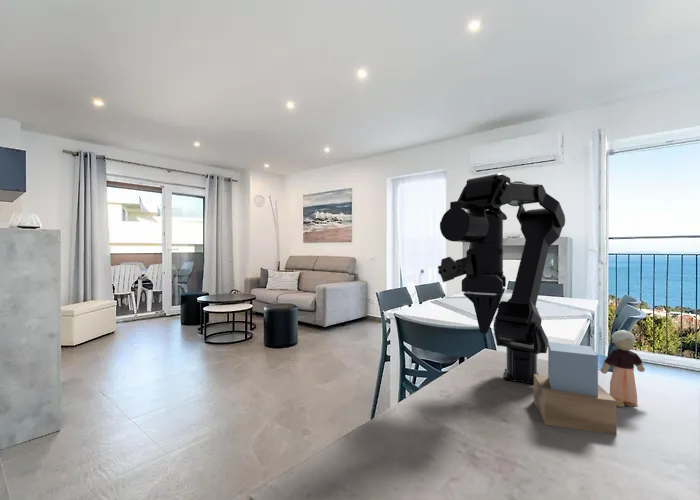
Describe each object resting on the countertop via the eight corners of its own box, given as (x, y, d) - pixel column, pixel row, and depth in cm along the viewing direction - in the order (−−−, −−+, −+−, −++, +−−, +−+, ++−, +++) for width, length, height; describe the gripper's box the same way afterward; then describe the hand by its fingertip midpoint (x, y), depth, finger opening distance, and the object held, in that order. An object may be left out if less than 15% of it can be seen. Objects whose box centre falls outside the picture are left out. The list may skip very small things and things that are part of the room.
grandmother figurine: (619, 410, 57) (618, 333, 58) (597, 401, 61) (596, 328, 61) (653, 405, 59) (652, 331, 60) (629, 396, 63) (629, 326, 63)
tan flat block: (533, 402, 61) (533, 374, 61) (593, 410, 58) (593, 380, 58) (545, 426, 52) (545, 392, 52) (616, 436, 49) (616, 400, 50)
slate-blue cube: (548, 377, 59) (548, 342, 59) (590, 383, 56) (590, 346, 57) (551, 389, 54) (550, 350, 54) (598, 396, 51) (597, 355, 51)
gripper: (450, 245, 76) (449, 317, 76) (430, 241, 59) (430, 333, 59) (505, 245, 71) (505, 321, 71) (502, 241, 54) (502, 341, 54)
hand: (485, 328), depth 64 cm, fingers open, 9 cm apart
